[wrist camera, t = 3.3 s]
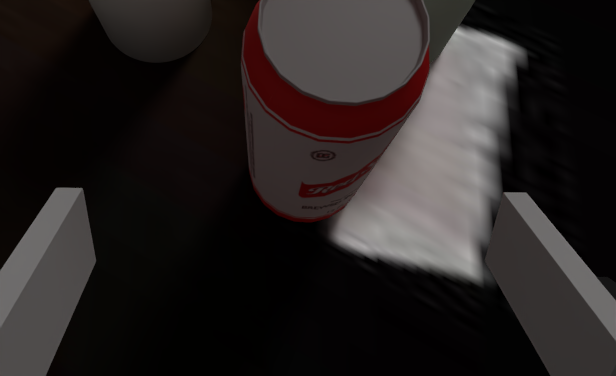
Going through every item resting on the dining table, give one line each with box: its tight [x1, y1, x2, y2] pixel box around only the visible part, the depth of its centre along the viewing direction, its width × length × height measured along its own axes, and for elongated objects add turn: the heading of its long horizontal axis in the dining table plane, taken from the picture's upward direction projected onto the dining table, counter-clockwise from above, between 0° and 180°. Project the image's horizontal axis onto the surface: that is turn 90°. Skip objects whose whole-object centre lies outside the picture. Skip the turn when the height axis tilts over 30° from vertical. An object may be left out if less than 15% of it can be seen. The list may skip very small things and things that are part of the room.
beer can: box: [241, 0, 430, 222], centre depth 23 cm, size 6×6×16 cm
